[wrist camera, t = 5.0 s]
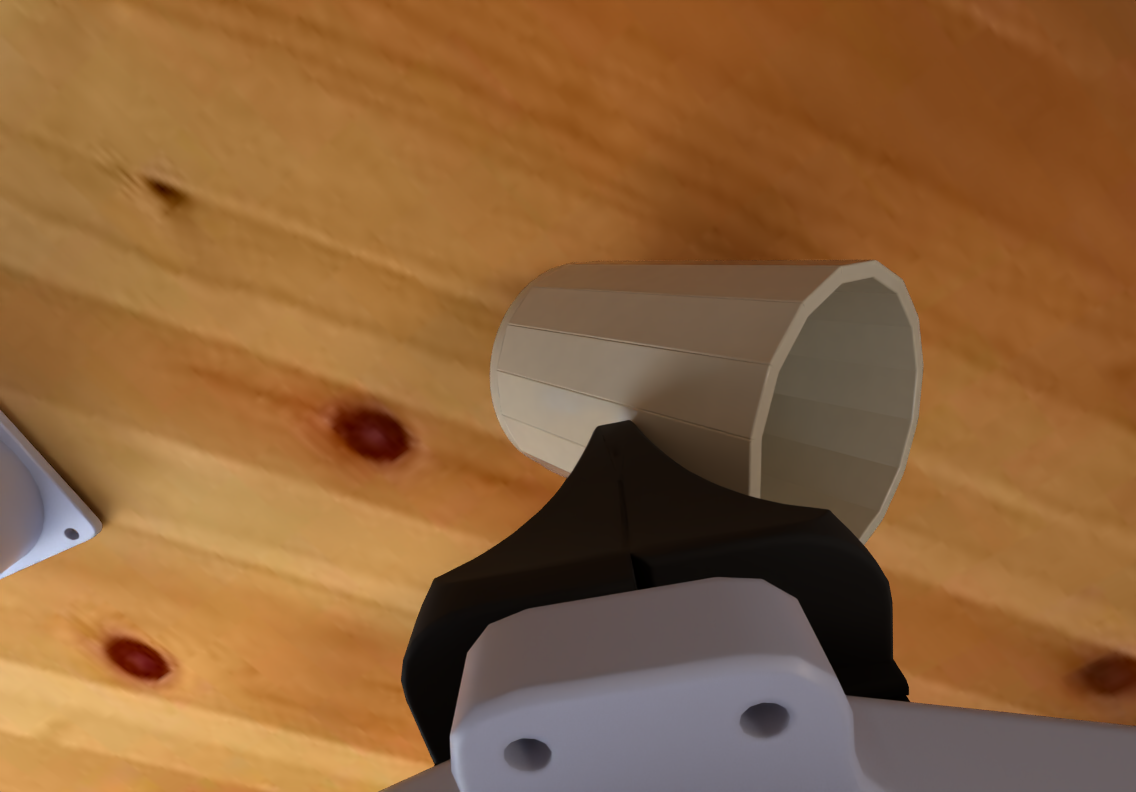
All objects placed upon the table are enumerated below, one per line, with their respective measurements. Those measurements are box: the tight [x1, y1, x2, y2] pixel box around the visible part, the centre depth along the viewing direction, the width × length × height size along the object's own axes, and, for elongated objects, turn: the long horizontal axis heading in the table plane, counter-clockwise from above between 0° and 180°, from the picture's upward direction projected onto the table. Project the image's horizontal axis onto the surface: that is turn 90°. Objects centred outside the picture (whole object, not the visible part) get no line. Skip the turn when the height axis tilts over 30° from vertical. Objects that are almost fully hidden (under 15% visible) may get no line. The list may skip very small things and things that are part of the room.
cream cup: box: [490, 260, 923, 545], centre depth 16 cm, size 7×7×9 cm
